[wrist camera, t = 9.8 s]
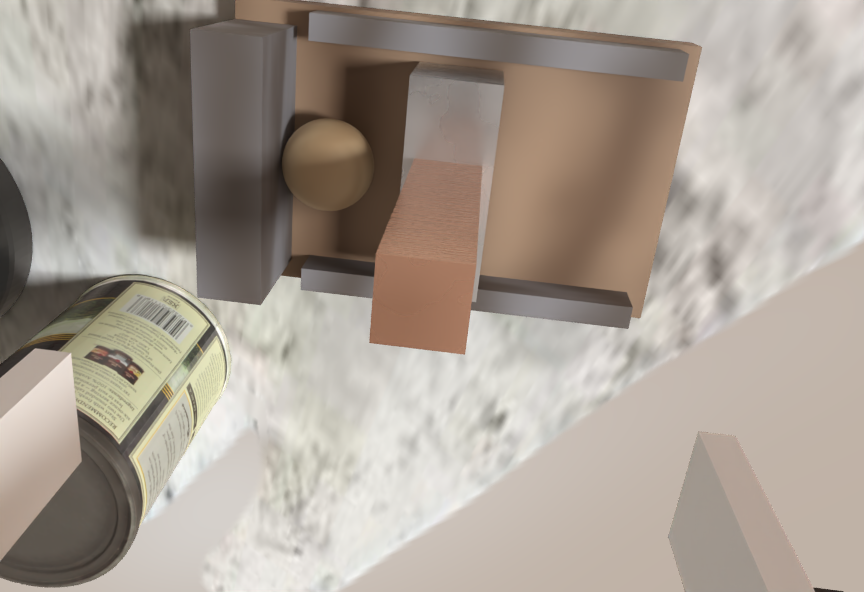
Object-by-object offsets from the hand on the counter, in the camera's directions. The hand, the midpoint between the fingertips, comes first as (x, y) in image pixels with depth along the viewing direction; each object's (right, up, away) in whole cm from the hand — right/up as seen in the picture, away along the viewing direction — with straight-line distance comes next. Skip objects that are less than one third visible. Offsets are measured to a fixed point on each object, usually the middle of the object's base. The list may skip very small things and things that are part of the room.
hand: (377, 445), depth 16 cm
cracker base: (+2, +10, +25) cm, 27 cm away
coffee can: (-16, 0, +31) cm, 35 cm away
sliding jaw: (+2, +10, +22) cm, 24 cm away
